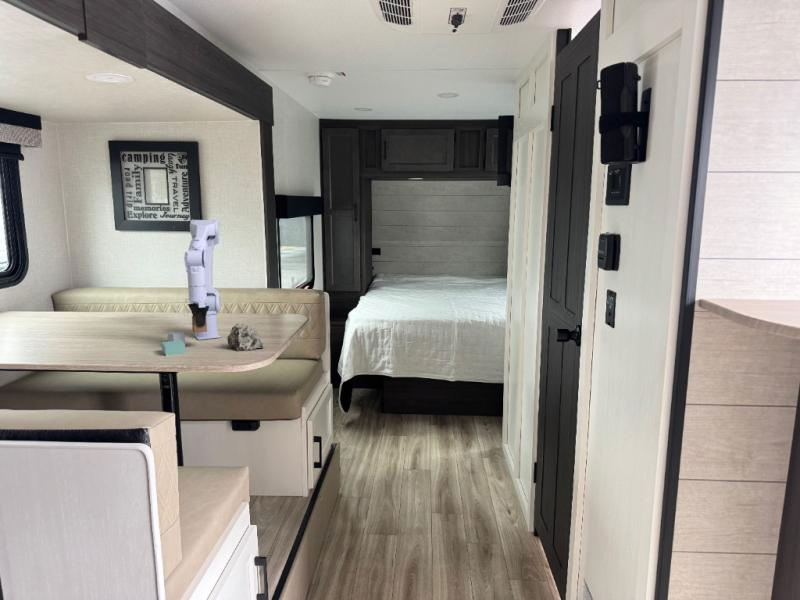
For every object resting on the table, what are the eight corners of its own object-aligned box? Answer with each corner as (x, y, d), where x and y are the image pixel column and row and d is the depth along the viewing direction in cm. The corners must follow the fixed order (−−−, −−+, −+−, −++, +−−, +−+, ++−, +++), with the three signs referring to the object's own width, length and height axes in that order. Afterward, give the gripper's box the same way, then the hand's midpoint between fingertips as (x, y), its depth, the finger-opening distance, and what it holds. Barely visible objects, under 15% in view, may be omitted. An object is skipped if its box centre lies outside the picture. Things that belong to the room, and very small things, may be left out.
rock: (228, 358, 174) (245, 335, 172) (217, 340, 180) (234, 317, 178) (258, 366, 184) (275, 344, 183) (248, 348, 190) (264, 327, 188)
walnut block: (192, 330, 182) (191, 316, 181) (204, 329, 184) (204, 315, 183) (194, 332, 178) (193, 318, 177) (207, 331, 180) (206, 317, 179)
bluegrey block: (168, 347, 182) (167, 332, 181) (179, 344, 185) (178, 331, 184) (174, 349, 180) (173, 334, 179) (185, 346, 183) (184, 332, 182)
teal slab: (162, 352, 176) (161, 342, 175) (181, 350, 179) (180, 340, 178) (165, 356, 171) (165, 346, 170) (185, 354, 174) (184, 343, 173)
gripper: (181, 283, 182) (183, 322, 185) (188, 289, 170) (190, 330, 172) (202, 282, 186) (204, 320, 188) (211, 287, 174) (213, 328, 176)
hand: (199, 325), depth 181 cm, fingers closed on walnut block, 4 cm apart
